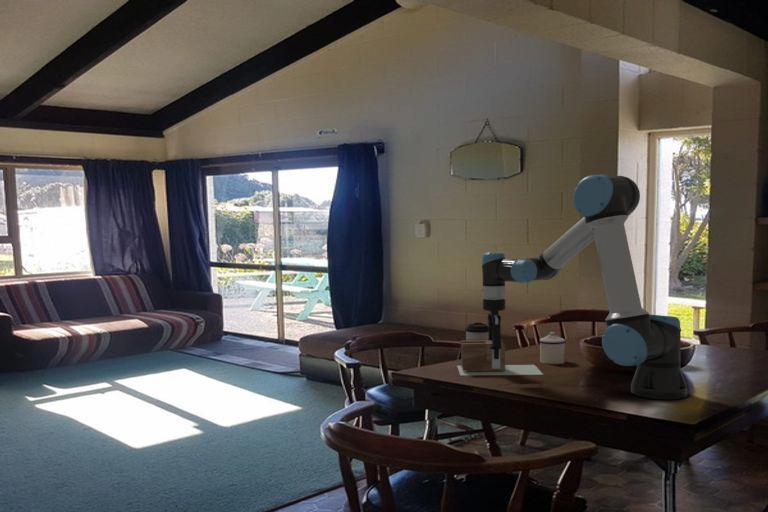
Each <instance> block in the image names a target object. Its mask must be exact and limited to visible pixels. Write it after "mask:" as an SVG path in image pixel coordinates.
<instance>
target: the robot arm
mask: <svg viewBox="0 0 768 512" xmlns="http://www.w3.org/2000/svg"><path fill="white" fill-rule="evenodd" d="M572 196H573V199H572V201H573V205H574V208H575V210H576V211H577V212H579V214H580V215H582V216H583V217H582V218H581V219H579V221H577V222H576V223H575V224H574V225H573V226H572V227H570V228H569V229H568V230H567V231H565V233H564V234H562V235H561V236H560V237H559V238H558V239H557V240H556V241H555V242H553V243H552V244H551V245H550V246H549V247H547V249H545V250H544V251H543V252H542V253H540V254H539V256H537V257H531V258H530V257H529V258H528V257H527V258H506V255H505V253H504V252H485V253H483V254H482V259H481V260H482V263H481V269H482V288H480V291H481V292H482V297H483V298H482V310H484V311H487V312H489V313H488V314H487V323H488V324H487V326H488V340H492V347H490V349H492V369H498V368H500V348H501V340H502V339H501V338H502V336H501V334H502V333H501V327H502V326H501V322H502V321H501V320H502V316H501V315H500V313H499V312H500V311H505V310H506V299H505V297H506V282H509V283H510V282H511V283H519V284H526V283H531V282H534V281H548V280H551V279H552V280H553V279H554V278H557V276H558V275H559V273H560V271H561V268H562V267H563V266H565V265H566V263H568V262H569V261H570V260H572V258H574V257H575V256H576V255H578V254H579V253H580V252H581V251H583V250H584V249H585V248H586V247H587V246H589V245H590V244H591V243H592V242H593V241H595V242H594V243H595V247H596V251H597V256H598V257H597V258H598V262H599V265H600V266H599V267H600V271H601V276H602V281H603V286H604V290H605V295H606V300H607V301H606V302H607V306H608V310H609V313H608V315H607V316H606V318H605V324H606V329H605V330H604V333H603V334H602V336H601V345H602V349H603V351H604V353H605V355H607V357H608V358H609V359H610V360H611V361H613V363H615V364H617V365H620V366H623V367H624V366H625V367H630V366H631V367H632V366H637V367H636V370H635V373H634V375H633V378H632V380H631V385H630V392H631V394H633V395H635V396H638V397H641V398H647V399H653V400H680V399H685V398H687V397H688V387H687V384H686V380H685V377H684V374H683V372H682V369H681V350H682V349H681V348H682V347H681V342H682V341H681V338H682V337H681V335H682V334H681V332H682V327H681V321H680V319H679V317H676V316H672V315H660V314H659V315H658V314H650V313H649V312H648V310H646V309H644V308H643V307H642V304H641V303H642V302H641V299H640V293H639V289H638V284H637V280H636V279H637V278H636V275H635V269H634V265H633V260H632V255H631V252H630V245H629V242H628V241H629V240H628V237H627V231H626V227H625V223H626V221H627V220H628V218H629V216H631V214H632V213H634V211H635V210H636V209H637V207H638V206H639V203H640V200H641V192H640V188H639V187H638V184H636V182H635V181H634V180H633V179H631V178H630V177H627V176H624V175H610V174H603V173H598V174H591V175H587V176H585V177H583V179H581V180H580V181H579V182H578V184H577V186H576V187H575V189H574V192H573V195H572Z"/></svg>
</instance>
